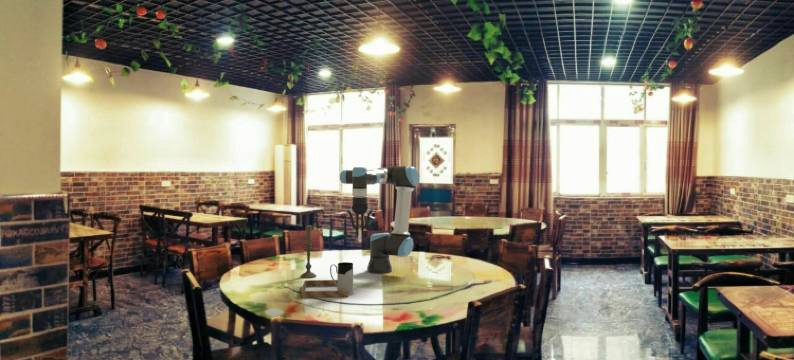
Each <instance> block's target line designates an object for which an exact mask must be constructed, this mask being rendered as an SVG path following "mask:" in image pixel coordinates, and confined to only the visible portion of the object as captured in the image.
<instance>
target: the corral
mask: <svg viewBox="0 0 794 360" xmlns="http://www.w3.org/2000/svg"><path fill="white" fill-rule="evenodd" d="M334 280H335V282H336V283H337V279H334ZM335 282H334V281H333V279H321V280H319V279H315V280H313V279H310V280H309V279H306V280H304V281H303V284H302V287H301V290H300V299H309V298H310V299H313V298H314V299H317V298H318V299H319V298H324V299H325V298H349V296H348V290H346V291H337V290H306V289H307V287H337V285H336V284H335Z"/></svg>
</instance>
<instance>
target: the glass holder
mask: <svg viewBox="0 0 794 360" xmlns="http://www.w3.org/2000/svg"><path fill="white" fill-rule="evenodd" d="M333 266H334V267H335V270H336V274H337V276H336V277H337V279H334V277H333V274H332V267H333ZM329 273H330V277H331V280H333V281H334V282H335V280H337V283H336V282H335V284H336V285H337V286H336V287H337V289H336V291H346V290H348V297H351V296H353V295H355V293H354V263H352V262H339V263H337V265H336V264H335V263H333V264H331V265H330V266H329Z"/></svg>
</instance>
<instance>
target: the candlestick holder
mask: <svg viewBox="0 0 794 360" xmlns="http://www.w3.org/2000/svg"><path fill="white" fill-rule="evenodd" d="M311 227H312V225H306V243H305V250H306V261H307V263H306V264H304V266H305V269H306V271H305V272H302V274H300V275H299V277H300V278H302V279H315V278H317V274H315V272H313V271H311V269H312V264H311V250H312V246H313V244H312V242H311V241H312V240H311V239H312V234H311V233H312V232H311V231H312V229H311Z"/></svg>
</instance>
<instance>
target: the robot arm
mask: <svg viewBox="0 0 794 360" xmlns="http://www.w3.org/2000/svg"><path fill="white" fill-rule="evenodd" d="M339 180H340V182H341V184H344V185H345V184H346V185H352V193H351V195H352V200H351V201H352V205H351V208H350V209H348V210H347V213H348V214H349V217H350V218H349V219H350V222H351V225H352V228H353V229H354V230H355V235H356V236H358V238H357V240H358V241H357V242H358V243H362V236H364V230H365V229H367V228H368V226H369V220H370V217H371V214H372V212H373V210H372V209H370V208H369V207H368V197H367V196H368V185H370V186H371V185H377V184H381V185H382V184H384V185H388V186H389V185H391V186H395V189H396V190H397V191H396V202H395V213H394V225H393V230H392V231H391V232H382V233H381V232H379V233H373V234H371V235H370V241H369V243H370V245H369V247H370V248H369V253H370V254H369V255H370V256H369V261H368V264H367V266H366V267H367V268H366V271H367V272H368V273H370V274H388V273H392V271H393V266H392V264H391V260H390V256H393V257H404V258H406V257H408V256H409V255H411V253H412V251H413V248H414V239H413V238H412V237H411V233H410V232H409V224H410V213H411V203H412V192H414V190H415V187H416V186H418V185H419V181H420V174H419V172H418V170H417V168H416V167H415V166H410V165H409V166H408V165H406V166H405V165H402V166H401V165H400V166H399V165H397V166H396V165H391V166H386V167H379V168H376V169H368V168H367V167H366V166H365V167H364V166H355V167H353V168H352V170H351V169H346V170H342V171H341V172H340V174H339ZM366 212H367V214H366V219H364V214H365V213H366ZM352 213H354V214H355V222H354V217H353V214H352ZM359 215H360V217H359ZM359 218H360V221H359ZM364 220H365V223H364ZM359 222H360V225H359ZM359 226H360V228H359Z"/></svg>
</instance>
